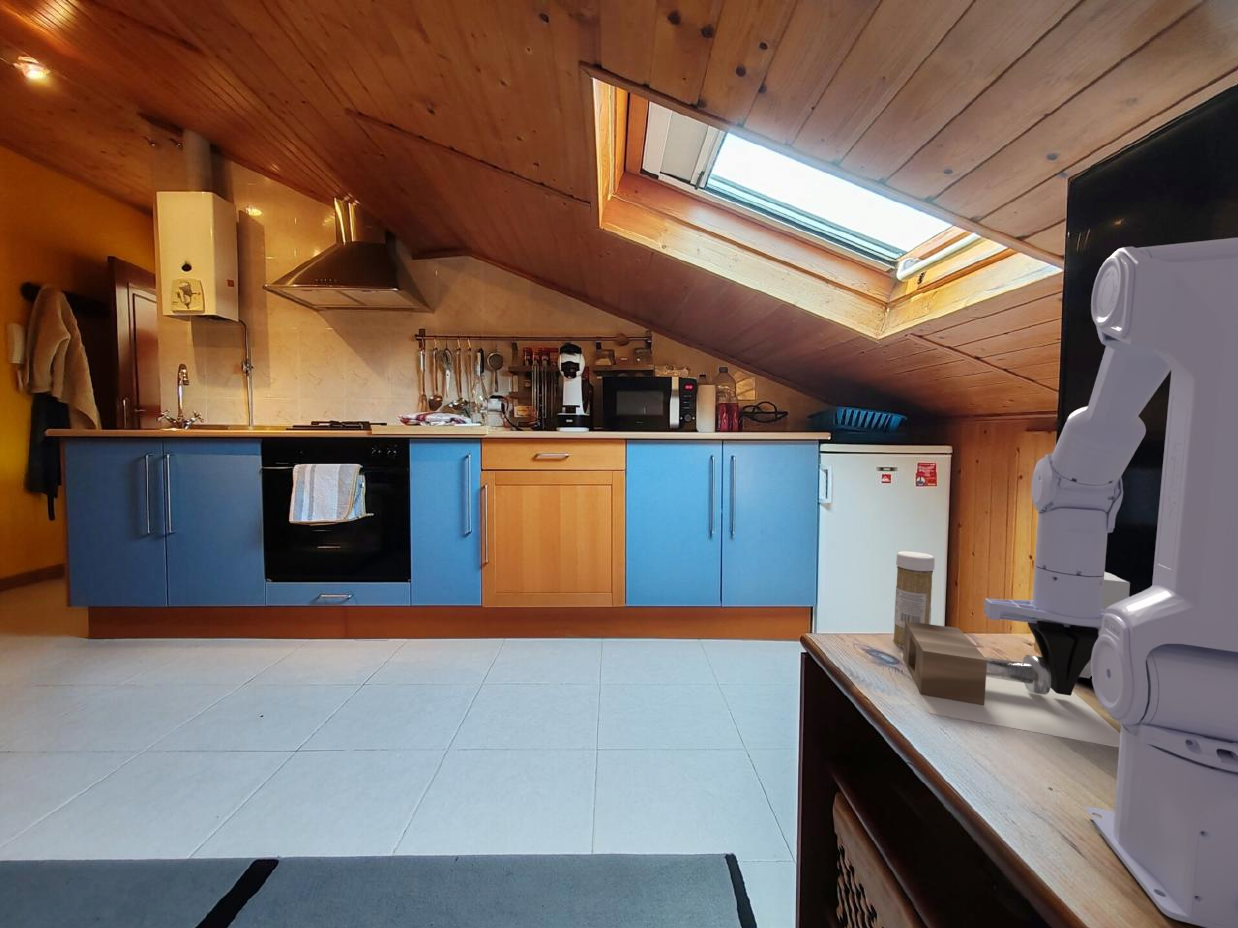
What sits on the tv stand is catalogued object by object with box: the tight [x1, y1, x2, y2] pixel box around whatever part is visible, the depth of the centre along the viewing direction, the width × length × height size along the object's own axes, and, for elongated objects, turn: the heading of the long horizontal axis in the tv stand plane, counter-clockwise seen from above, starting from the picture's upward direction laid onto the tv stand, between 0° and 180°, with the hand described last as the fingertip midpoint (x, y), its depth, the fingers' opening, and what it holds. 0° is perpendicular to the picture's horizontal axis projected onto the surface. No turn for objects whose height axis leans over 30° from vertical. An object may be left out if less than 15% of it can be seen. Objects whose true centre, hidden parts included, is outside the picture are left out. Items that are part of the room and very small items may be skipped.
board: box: [899, 652, 1120, 749], centre depth 57 cm, size 16×17×1 cm
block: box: [902, 621, 987, 706], centre depth 60 cm, size 10×6×5 cm, turn 160°
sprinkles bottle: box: [892, 550, 935, 648], centre depth 70 cm, size 5×5×14 cm
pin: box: [984, 654, 1051, 695], centre depth 58 cm, size 4×12×4 cm, turn 70°
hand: (1059, 690), depth 56 cm, fingers closed
